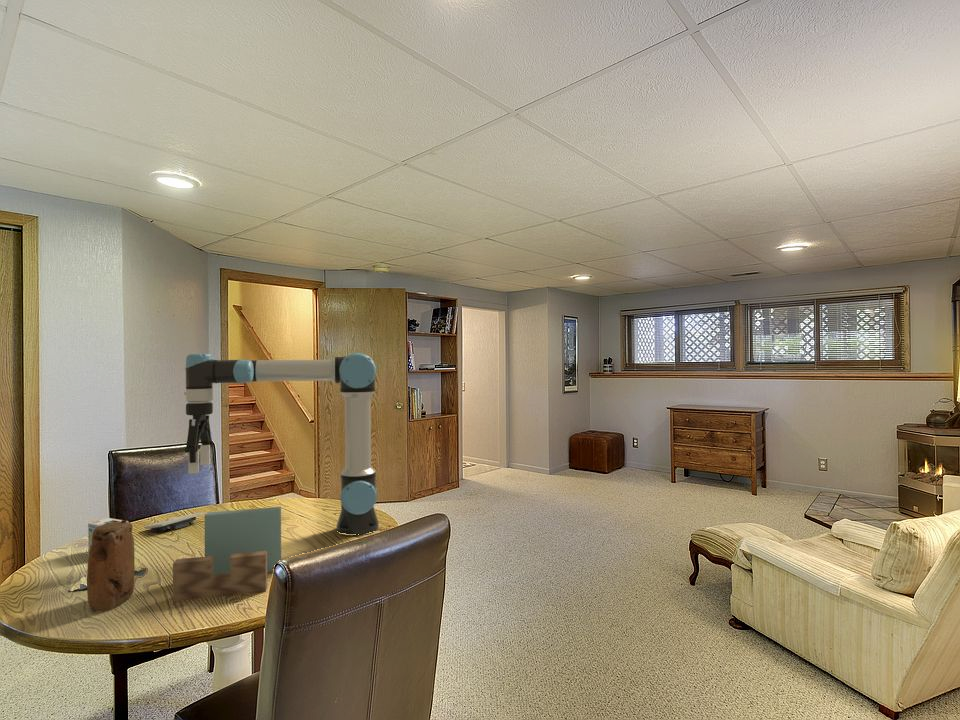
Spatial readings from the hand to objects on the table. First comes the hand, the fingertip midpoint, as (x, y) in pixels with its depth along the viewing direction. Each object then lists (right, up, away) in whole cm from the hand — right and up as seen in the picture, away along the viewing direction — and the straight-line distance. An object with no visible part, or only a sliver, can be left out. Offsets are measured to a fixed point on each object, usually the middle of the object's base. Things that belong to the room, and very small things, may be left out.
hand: (199, 469), depth 163 cm
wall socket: (-20, -29, +27) cm, 44 cm away
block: (-4, -28, -33) cm, 43 cm away
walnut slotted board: (+21, -27, -28) cm, 45 cm away
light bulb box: (-30, -28, +1) cm, 41 cm away
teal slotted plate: (+21, -27, -14) cm, 37 cm away
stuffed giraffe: (-16, -28, -16) cm, 36 cm away
